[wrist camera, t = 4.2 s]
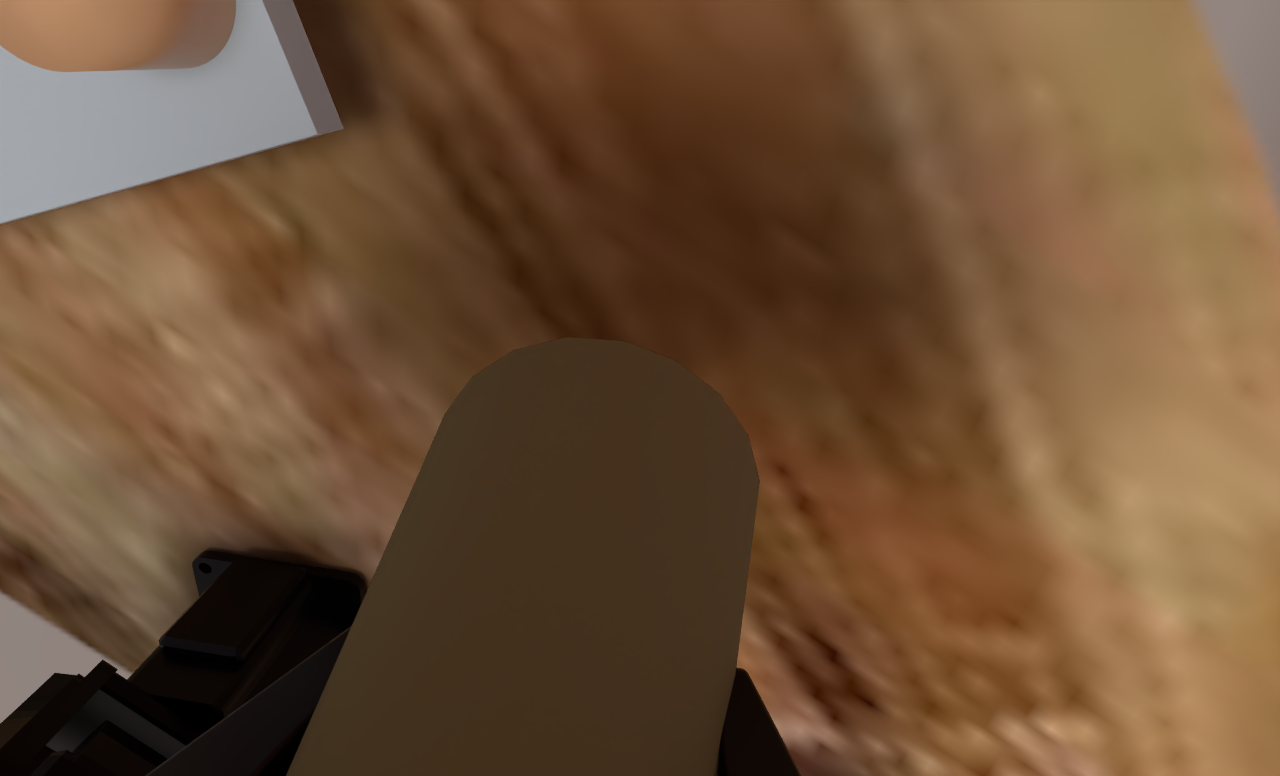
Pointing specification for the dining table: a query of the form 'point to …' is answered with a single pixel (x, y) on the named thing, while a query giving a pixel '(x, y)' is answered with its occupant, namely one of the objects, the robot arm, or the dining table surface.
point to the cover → (146, 93)
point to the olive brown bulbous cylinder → (554, 581)
